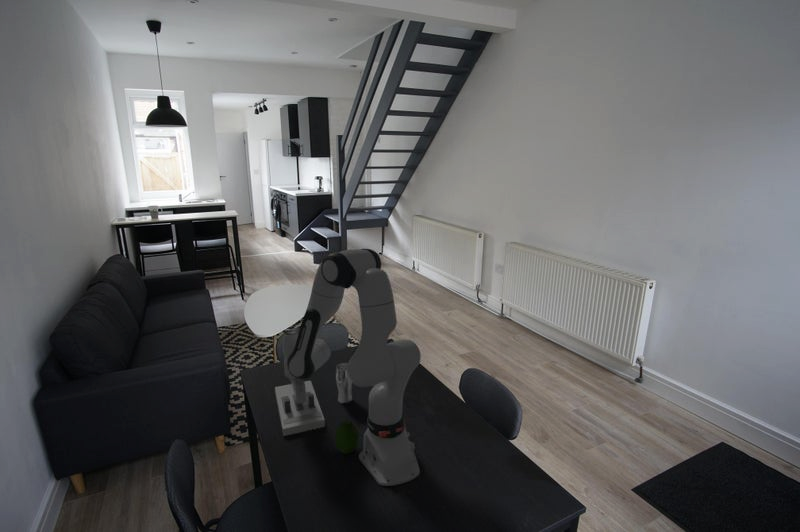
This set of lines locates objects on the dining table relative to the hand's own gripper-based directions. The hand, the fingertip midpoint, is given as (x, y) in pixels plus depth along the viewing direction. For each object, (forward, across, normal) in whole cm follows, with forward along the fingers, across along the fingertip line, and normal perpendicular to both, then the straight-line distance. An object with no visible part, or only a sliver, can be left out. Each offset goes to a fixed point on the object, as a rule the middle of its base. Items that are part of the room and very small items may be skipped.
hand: (298, 401), depth 163 cm
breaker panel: (+5, +3, 0) cm, 6 cm away
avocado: (+5, -28, -12) cm, 31 cm away
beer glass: (+6, +3, -19) cm, 20 cm away
